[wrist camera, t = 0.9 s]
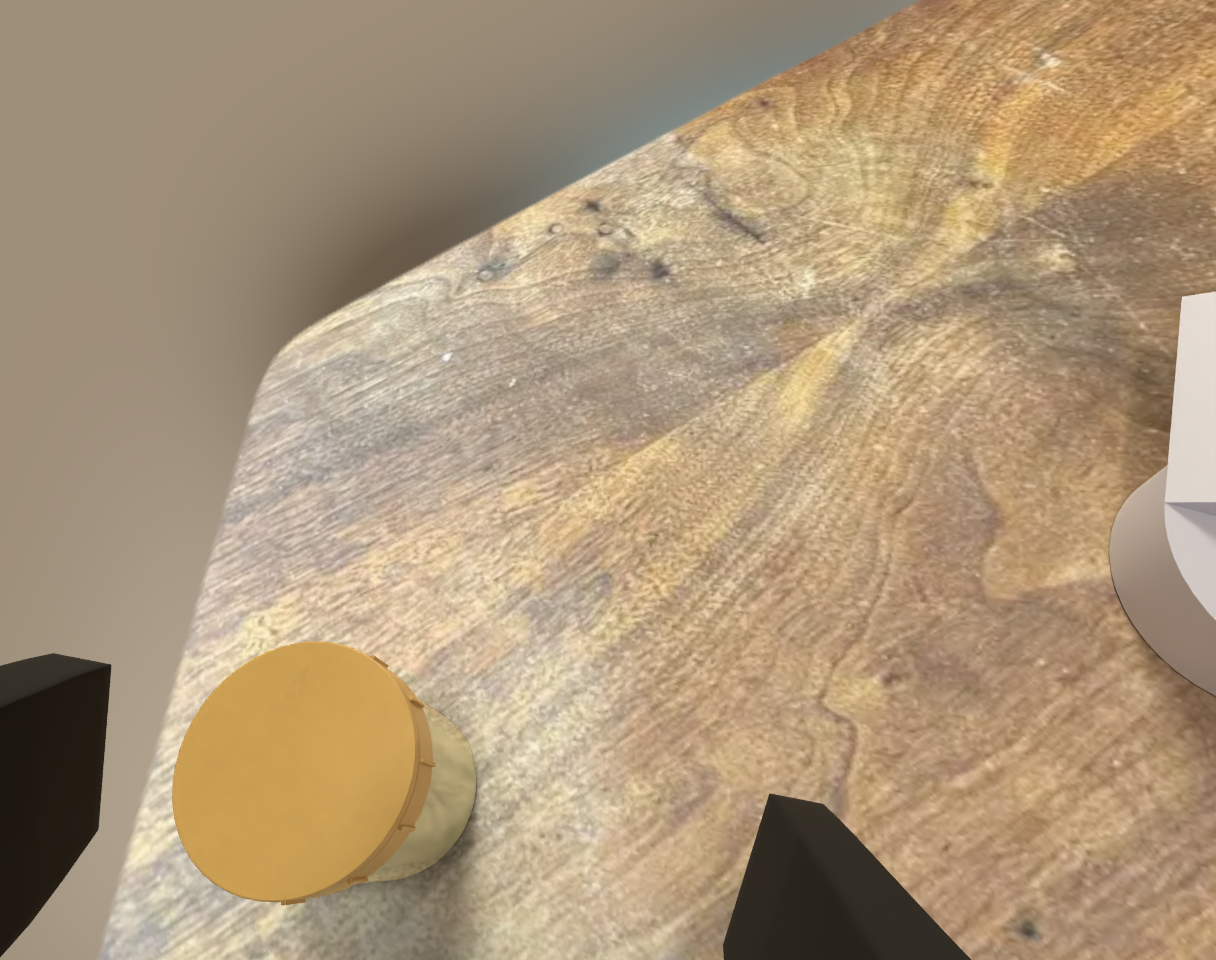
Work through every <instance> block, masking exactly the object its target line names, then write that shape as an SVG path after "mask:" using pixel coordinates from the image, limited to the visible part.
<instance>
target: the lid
mask: <svg viewBox="0 0 1216 960" xmlns="http://www.w3.org/2000/svg"><path fill="white" fill-rule="evenodd" d="M387 667H388V665H387V664H385V663H384V662H383V661H381V660H380V659H378V658H377V657H375V656H374V655H371V656H370V657H369V656H368V655H366V654H364V653H362V652H360V651H358V650H356V649H354V648H351V647H348V646H345V645H341V644H336V643H330V642H303V643H295V644H291V645H287V646H283V647H279V648H277V649H274V650H271V651H269V652H266V653H264V654H262V655H260V656H258V657H256V658H254V659H252V660H251V661H249V662H248V663H246V664H245V665H243V666H241V667H240V668H238V669H237V670H236V671H235V672H234V673H232V674H231V675H230V676H229V677H227V678H226V679H225V680H224V681H223V682H222V683H221V684H220V685H219V686H218V687H217V688H216V689H215V690H214V691H213V692H212V694H211V695H210V696H209V697H208V699H207V700H206V701H205V702H204V704H203V705H202V706H201V708H200V710H199V711H198V713H197V714H196V716H195V717H194V719H193V721H192V723H191V725H190V727H189V729H188V731H187V733H186V735H185V737H184V740H183V742H182V745H181V748H180V750H179V754H178V758H177V762H176V766H175V771H174V779H173V796H172V802H173V811H174V819H175V823H176V827H177V831H178V834H179V837H180V839H181V841H182V844H183V846H184V849H185V850H186V852H187V854H188V855H189V857H190V859H191V860H192V862H193V863H194V864H195V866H196V867H197V868H198V869H199V870H200V871H201V873H202V874H203V875H204V876H206V877H207V878H208V879H209V880H210V881H211V882H213V883H214V884H215V885H217V886H218V887H220V888H222V889H224V890H225V891H227V892H229V893H231V894H234V895H237V896H239V897H242V898H245V899H250V900H255V901H262V902H281V905H289V904H297V903H304V902H305V901H306V899H308V898H316V897H322V896H326V895H330V894H334V893H337V892H339V891H342V890H344V889H347V888H349V887H352V886H353V885H355V884H357V883H365V882H367V881H368V876H370V875H371V874H373V873H374V872H375V871H377V870H378V869H379V868H380V867H381V866H383V865H384V864H385V863H386V862H387V861H388V860H389V859H390V858H391V857H392V856H393V855H394V854H395V852H396V851H397V850H398V849H399V848H400V847H401V845H402V844H403V843H404V841H405V840H406V838H407V837H408V835H409V834H410V832H415V830H416V827H414V826H415V824H416V822H417V820H418V818H419V816H420V814H421V812H422V809H423V806H424V804H425V801H426V798H427V795H428V791H429V787H430V783H431V776H432V768H433V767H435V766H436V763H435V762H433V746H432V738H431V732H430V728H429V724H428V721H427V718H426V715H425V713H424V711H423V708H424V707H425V705H424V703H422V702H421V701H419V700H418V699H417V698H416V696H415V694H414V693H413V692H412V691H411V689H410V688H409V687H408V686H407V684H406V683H405V682H404V681H402V680H401V679H400V678H399V677H398V676H397V675H396V674H394V673H393V672H391V671H390V670H388V669H387Z"/></svg>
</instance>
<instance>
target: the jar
mask: <svg viewBox="0 0 1216 960" xmlns="http://www.w3.org/2000/svg"><path fill="white" fill-rule="evenodd" d="M417 699H418V698H417ZM418 700H419V699H418ZM419 701H421V700H419ZM421 702H422V703H424V702H423V701H421ZM424 705H425V707H424V708H423V711H424V713H425V715H426V718H427V721H428V724H429V728H430V732H431V738H432V746H433V762H435V763H436V766H435V767H433V768H432V776H431V783H430V787H429V791H428V795H427V798H426V801H425V804H424V806H423V809H422V812H421V814H420V816H419V818H418V820H417V822H416V824H415V826H414V827H416V830H415V832H410V834H409V835H408V837H407V838H406V840H405V841H404V843H403V844H402V845H401V847H400V848H399V849H398V850H397V851H396V852H395V854H394V855H393V856H392V857H391V858H390V859H389V860H388V861H387V862H386V863H385V864H384V865H383V866H381V867H380V868H379V869H378V870H377V871H375V872H374V873H373V874H371V875H370V876H368V881H367V882H365V883H369V882H379V881H389V880H398V879H402V878H406V877H410V876H412V875H415V874H417V873H420V872H422V871H423V870H425V869H427V868H429V867H430V866H432V865H433V864H434V863H436V862H437V861H438V860H440V859H441V858H442V857H443V856H444V855H445V854H446V853H447V852H448V851H449V850H450V849H451V848H452V846H453V845H454V844H455V843H456V841H457V840H458V838H459V837H460V835H461V834H462V832H463V830H464V828H465V826H466V824H467V822H468V820H469V817H470V814H471V812H472V809H473V804H474V800H475V794H476V769H475V762H474V759H473V755H472V752H471V749H470V747H469V745H468V742H467V741H466V739H465V737H464V736H463V734H462V732H461V731H460V730H459V729H458V728H457V726H456V725H455V724H454V723H453V722H452V721H451V720H449V719H448V718H447V717H446V716H444V715H443V714H441V713H440V712H438V711H437V710H435V709H433V708H432V707H430V706H429V705H427V704H426V703H424ZM357 884H358V883H357Z"/></svg>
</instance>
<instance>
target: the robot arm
mask: <svg viewBox="0 0 1216 960" xmlns="http://www.w3.org/2000/svg"><path fill="white" fill-rule="evenodd" d="M110 676H111V665H110V664H105V663H100V662H95V661H90V660H85V659H80V658H75V657H69V656H64V655H59V654H54V653H53V654H48V655H43V656H39V657H34V658H29V659H25V660H21V661H17V662H13V663H10V664H6V665H2V666H0V957H1V956H2V955H3V954H4V952H5V951H6V950H7V949H8V948H9V947H10V946H11V945H12V944H13V942H14V941H15V940H16V939H17V938H18V937H19V936H20V934H21V933H22V932H23V931H24V930H25V929H26V928H27V927H28V925H29V924H30V923H31V922H32V921H33V919H34V918H35V916H36V915H37V914H38V913H39V911H40V910H41V909H42V907H43V906H44V905H45V903H46V902H47V901H48V899H49V898H50V897H51V895H52V894H53V893H54V891H55V890H56V889H57V887H58V886H59V884H60V883H61V882H62V881H63V879H64V878H65V876H66V875H67V873H68V872H69V871H70V869H71V868H72V866H73V865H74V863H75V862H76V861H77V859H78V858H79V856H80V855H81V854H82V852H83V851H84V849H85V848H86V846H87V845H88V844H89V842H90V841H91V839H92V838H93V836H94V835H95V834H96V832H97V830H98V828H99V815H100V803H101V802H100V801H101V790H102V777H103V764H104V752H105V739H106V726H107V713H108V700H109V688H110ZM723 952H724V960H971V959H970V958H969V957H968V956H967V955H966V954H965V953H964V952H963V951H962V950H961V949H960V948H959V947H958V945H957V944H956V943H955V942H954V941H953V940H952V939H951V938H950V937H949V936H948V935H947V934H946V933H945V932H944V931H943V930H942V929H941V928H940V926H939V925H938V924H937V923H936V922H935V921H934V920H933V919H932V918H931V917H930V916H929V915H928V914H927V913H926V912H925V911H924V909H923V908H922V907H921V906H920V905H919V904H918V903H917V902H916V901H915V900H914V899H913V898H912V897H911V896H910V894H909V893H908V892H907V891H906V890H905V889H904V888H903V887H902V886H901V885H900V884H899V883H898V881H897V880H896V879H895V878H894V877H893V876H892V875H891V874H890V873H889V872H888V871H887V870H886V868H885V867H884V866H883V865H882V864H881V863H880V862H879V861H878V860H877V859H876V858H875V857H874V856H873V854H872V853H871V852H870V851H869V850H868V849H867V848H866V847H865V846H864V845H863V844H862V843H861V842H860V841H859V839H858V838H857V837H856V836H855V835H854V834H853V833H852V832H851V831H850V830H849V829H848V828H847V827H846V826H845V825H844V824H843V823H842V822H841V821H840V820H839V819H838V818H837V817H836V816H835V815H834V814H833V813H832V812H831V811H830V810H829V809H828V808H827V807H826V806H825V805H823V804H821V803H816V802H811V801H805V800H800V799H795V798H790V797H785V796H780V795H775V794H769V797H768V800H767V803H766V807H765V810H764V813H763V816H762V820H761V823H760V826H759V829H758V833H757V836H756V839H755V843H754V846H753V849H752V852H751V856H750V859H749V862H748V865H747V869H746V872H745V875H744V878H743V882H742V885H741V888H740V891H739V895H738V898H737V901H736V904H735V908H734V911H733V914H732V917H731V921H730V924H729V927H728V931H727V934H726V937H725V940H724V944H723Z"/></svg>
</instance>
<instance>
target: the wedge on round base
mask: <svg viewBox="0 0 1216 960" xmlns="http://www.w3.org/2000/svg"><path fill="white" fill-rule="evenodd" d="M1109 559H1110V567H1111V574H1112V578H1113V581H1114V585H1115V588H1116V591H1117V594H1118V596H1119V598H1120V601H1121V603H1122V606H1123V608H1124V609H1125V611H1126V613H1127V615H1128V616H1129V618H1130V620H1131V622H1132V623H1133V625H1134V626H1135V628H1136V629H1137V630H1138V632H1139V633H1140V634H1141V636H1142V637H1143V638H1144V640H1145V641H1146V642H1147V643H1148V644H1149V645H1150V647H1151V648H1152V649H1153V650H1154V651H1155V652H1156V653H1157V654H1158V655H1159V656H1160V657H1161V658H1162V659H1163V660H1164V661H1165V662H1166V663H1168V664H1169V665H1170V666H1171V667H1172V668H1173V669H1174V670H1176V671H1177V672H1178V673H1180V674H1181V675H1182V676H1184V677H1185V678H1187V679H1188V680H1189V681H1191V682H1192V683H1194V684H1195V685H1197V686H1199V687H1200V688H1202V689H1204V690H1206V691H1207V692H1209V693H1211V694H1213V695H1215V696H1216V292H1211V293H1204V294H1198V295H1191V296H1185V297H1182V305H1181V316H1180V328H1179V340H1178V351H1177V363H1176V375H1175V386H1174V398H1173V410H1172V421H1171V433H1170V445H1169V456H1168V465H1167V466H1165V467H1164V468H1163V469H1161V470H1160V471H1159V472H1158V473H1156V474H1155V475H1154V476H1152V477H1151V478H1150V479H1148V480H1147V481H1146V482H1145V483H1143V484H1142V485H1141V486H1139V487H1138V488H1137V489H1136V490H1135V491H1134V492H1133V493H1132V494H1131V495H1130V496H1129V497H1128V498H1127V499H1126V501H1125V502H1124V504H1123V505H1122V507H1121V509H1120V510H1119V512H1118V514H1117V516H1116V519H1115V522H1114V524H1113V527H1112V532H1111V537H1110V548H1109Z"/></svg>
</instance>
